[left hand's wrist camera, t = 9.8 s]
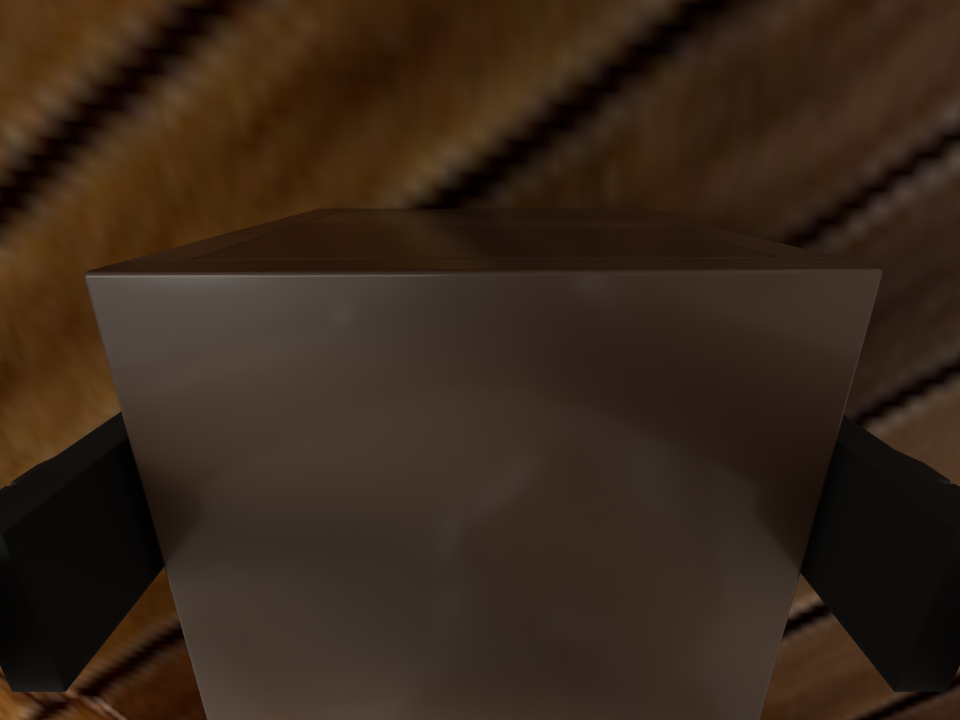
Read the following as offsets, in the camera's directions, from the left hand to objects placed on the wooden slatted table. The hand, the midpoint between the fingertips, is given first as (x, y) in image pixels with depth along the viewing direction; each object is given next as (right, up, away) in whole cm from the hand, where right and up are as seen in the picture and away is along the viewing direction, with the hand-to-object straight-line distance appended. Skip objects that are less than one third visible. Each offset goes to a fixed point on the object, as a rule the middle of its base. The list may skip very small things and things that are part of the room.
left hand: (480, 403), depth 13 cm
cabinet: (0, -1, +7) cm, 7 cm away
